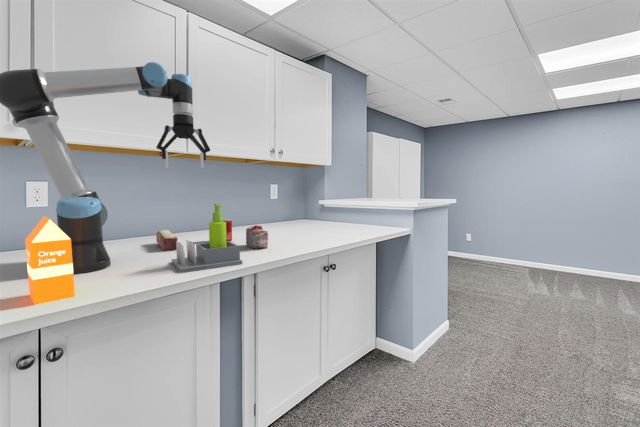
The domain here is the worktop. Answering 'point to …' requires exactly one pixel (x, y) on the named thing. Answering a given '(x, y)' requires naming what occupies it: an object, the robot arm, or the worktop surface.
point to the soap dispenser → (217, 229)
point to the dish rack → (205, 256)
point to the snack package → (166, 240)
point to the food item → (257, 237)
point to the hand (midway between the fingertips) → (184, 168)
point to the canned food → (228, 228)
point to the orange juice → (49, 263)
